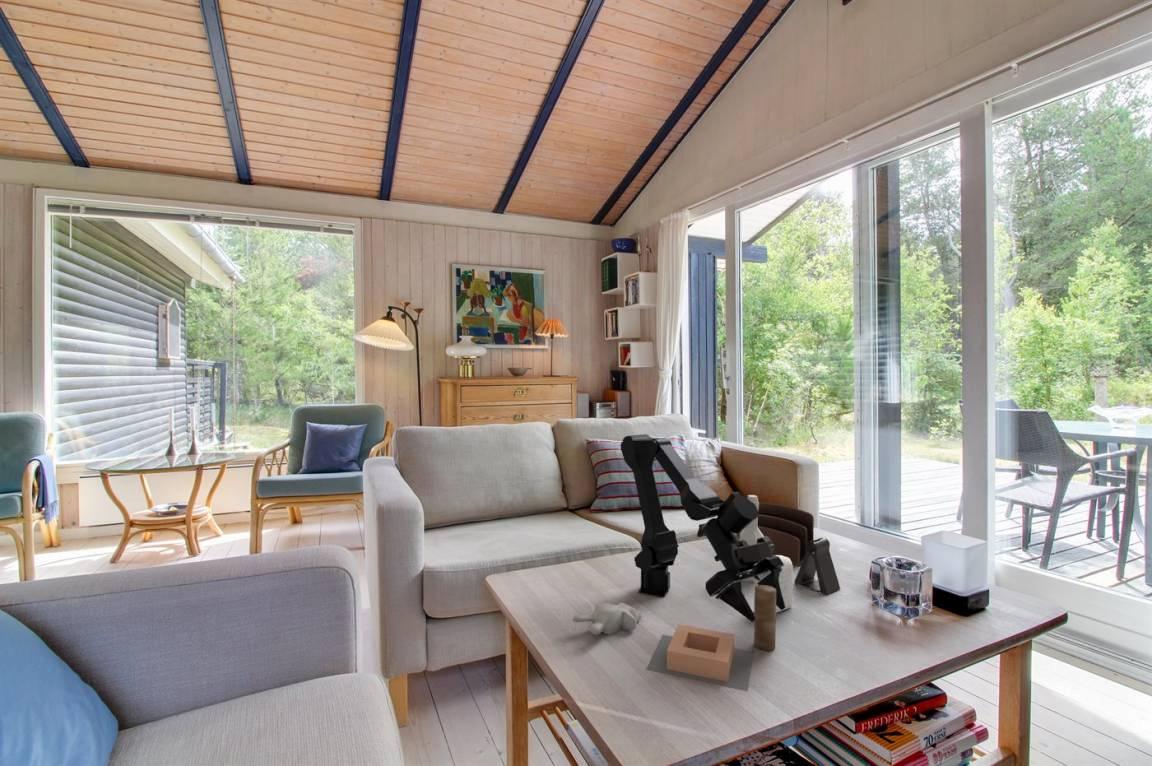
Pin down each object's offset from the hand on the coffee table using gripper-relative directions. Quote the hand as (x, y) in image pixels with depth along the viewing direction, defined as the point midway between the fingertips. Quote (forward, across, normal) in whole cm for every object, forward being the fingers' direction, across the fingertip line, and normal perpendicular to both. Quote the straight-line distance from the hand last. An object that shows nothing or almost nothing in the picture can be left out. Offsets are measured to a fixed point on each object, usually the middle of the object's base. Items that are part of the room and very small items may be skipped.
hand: (769, 614), depth 110 cm
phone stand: (-4, +37, +14) cm, 40 cm away
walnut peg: (+4, 0, +6) cm, 7 cm away
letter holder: (-19, +48, +30) cm, 60 cm away
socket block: (+2, -14, +8) cm, 17 cm away
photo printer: (-3, +16, +13) cm, 21 cm away
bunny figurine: (-12, -21, +22) cm, 33 cm away
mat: (+2, -14, +8) cm, 17 cm away
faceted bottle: (-13, +27, +23) cm, 38 cm away
